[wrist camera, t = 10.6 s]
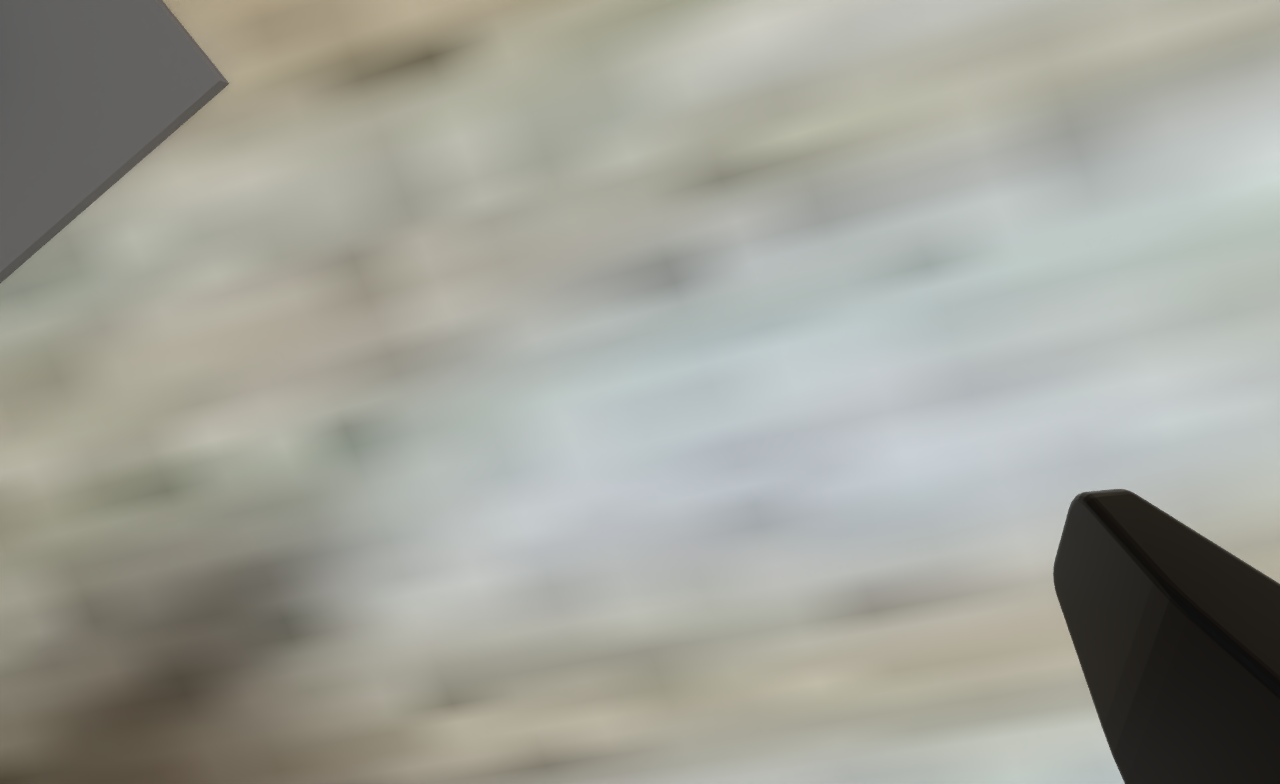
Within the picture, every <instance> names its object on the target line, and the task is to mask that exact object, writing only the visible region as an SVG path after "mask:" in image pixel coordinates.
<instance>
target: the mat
mask: <svg viewBox="0 0 1280 784" xmlns="http://www.w3.org/2000/svg"><path fill="white" fill-rule="evenodd" d="M228 84H229V83H228V81H227V80H226V79H225V78H224V77H223V75H222V74H221V73H220V72H219V70H218V69H217V68H216V67H215V65H214V64H213V63H212V62H211V60H210V59H209V58H208V57H207V55H206V54H205V53H204V52H203V51H202V49H201V48H200V47H199V46H198V44H197V43H196V42H195V41H194V39H193V38H192V37H191V36H190V34H189V33H188V32H187V31H186V29H185V28H184V27H183V26H182V25H181V23H180V22H179V21H178V20H177V18H176V17H175V16H174V15H173V13H172V12H171V11H170V10H169V8H168V7H167V6H166V5H165V3H164V2H163V1H162V0H0V283H1V282H2V281H3V280H4V279H6V278H7V277H8V276H9V275H10V274H11V273H12V272H14V271H15V270H16V269H17V268H18V267H19V266H21V265H22V264H23V263H24V262H25V261H26V260H27V259H29V258H30V257H31V256H32V255H33V254H34V253H35V252H37V251H38V250H39V249H40V248H41V247H42V246H43V245H45V244H46V243H47V242H48V241H49V240H50V239H51V238H53V237H54V236H55V235H56V234H57V233H58V232H60V231H61V230H62V229H63V228H64V227H65V226H66V225H68V224H69V223H70V222H71V221H72V220H73V219H74V218H76V217H77V216H78V215H79V214H80V213H81V212H82V211H84V210H85V209H86V208H87V207H88V206H89V205H90V204H92V203H93V202H94V201H95V200H96V199H97V198H99V197H100V196H101V195H102V194H103V193H104V192H105V191H107V190H108V189H109V188H110V187H111V186H112V185H113V184H115V183H116V182H117V181H118V180H119V179H120V178H121V177H123V176H124V175H125V174H126V173H127V172H128V171H129V170H131V169H132V168H133V167H134V166H135V165H136V164H137V163H139V162H140V161H141V160H142V159H143V158H144V157H146V156H147V155H148V154H149V153H150V152H151V151H152V150H154V149H155V148H156V147H157V146H158V145H159V144H160V143H162V142H163V141H164V140H165V139H166V138H167V137H168V136H170V135H171V134H172V133H173V132H174V131H175V130H176V129H178V128H179V127H180V126H181V125H182V124H183V123H185V122H186V121H187V120H188V119H189V118H190V117H191V116H193V115H194V114H195V113H196V112H197V111H198V110H199V109H201V108H202V107H203V106H204V105H205V104H206V103H207V102H209V101H210V100H211V99H212V98H213V97H214V96H215V95H217V94H218V93H219V92H220V91H221V90H222V89H224V88H225V87H226V86H227V85H228Z"/></svg>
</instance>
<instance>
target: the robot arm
mask: <svg viewBox="0 0 1280 784" xmlns="http://www.w3.org/2000/svg"><path fill="white" fill-rule="evenodd" d="M1053 576H1054V585H1055V590H1056V594H1057V597H1058V600H1059V603H1060V606H1061V609H1062V612H1063V615H1064V618H1065V620H1066V623H1067V626H1068V629H1069V632H1070V635H1071V638H1072V641H1073V644H1074V647H1075V650H1076V653H1077V655H1078V658H1079V661H1080V664H1081V667H1082V670H1083V673H1084V676H1085V679H1086V682H1087V685H1088V688H1089V691H1090V693H1091V696H1092V699H1093V702H1094V705H1095V708H1096V711H1097V714H1098V717H1099V720H1100V723H1101V726H1102V728H1103V731H1104V734H1105V737H1106V739H1107V742H1108V745H1109V747H1110V750H1111V753H1112V755H1113V758H1114V760H1115V762H1116V764H1117V767H1118V769H1119V771H1120V773H1121V776H1122V778H1123V780H1124V782H1125V784H1280V584H1279V583H1277V582H1276V581H1274V580H1273V579H1271V578H1269V577H1268V576H1266V575H1265V574H1263V573H1261V572H1260V571H1258V570H1257V569H1255V568H1253V567H1252V566H1250V565H1249V564H1247V563H1245V562H1244V561H1242V560H1241V559H1239V558H1237V557H1236V556H1234V555H1233V554H1231V553H1229V552H1228V551H1226V550H1225V549H1223V548H1221V547H1220V546H1218V545H1217V544H1215V543H1213V542H1212V541H1210V540H1209V539H1207V538H1205V537H1204V536H1202V535H1201V534H1199V533H1197V532H1196V531H1194V530H1193V529H1191V528H1189V527H1188V526H1186V525H1184V524H1183V523H1181V522H1180V521H1178V520H1176V519H1175V518H1173V517H1172V516H1170V515H1168V514H1167V513H1165V512H1164V511H1162V510H1160V509H1159V508H1157V507H1156V506H1154V505H1152V504H1151V503H1149V502H1148V501H1146V500H1144V499H1143V498H1141V497H1140V496H1138V495H1136V494H1134V493H1133V492H1131V491H1128V490H1124V489H1112V490H1102V491H1091V492H1084V493H1081V494H1079V495H1077V496H1076V497H1075V498H1074V499H1073V501H1072V502H1071V505H1070V507H1069V511H1068V514H1067V518H1066V522H1065V525H1064V529H1063V533H1062V536H1061V540H1060V544H1059V547H1058V551H1057V555H1056V558H1055V563H1054V572H1053Z"/></svg>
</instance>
